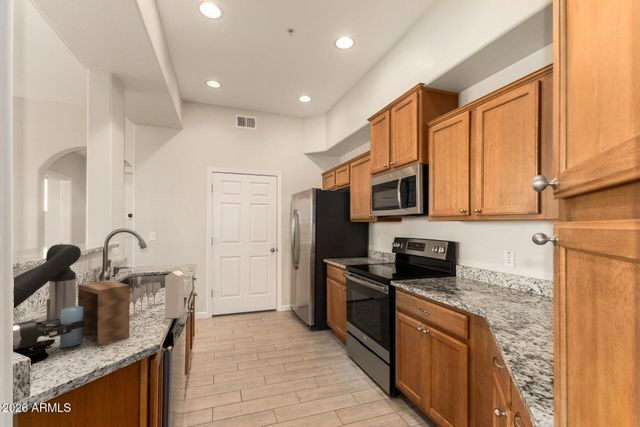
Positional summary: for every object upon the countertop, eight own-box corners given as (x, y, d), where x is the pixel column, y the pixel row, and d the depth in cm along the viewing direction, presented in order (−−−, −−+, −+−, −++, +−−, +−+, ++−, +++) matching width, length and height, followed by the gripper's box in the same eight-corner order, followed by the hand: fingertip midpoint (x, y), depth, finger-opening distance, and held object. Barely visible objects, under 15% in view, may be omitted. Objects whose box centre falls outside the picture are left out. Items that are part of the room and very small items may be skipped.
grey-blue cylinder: (56, 347, 101) (57, 311, 102) (65, 341, 107) (66, 307, 108) (77, 345, 103) (78, 310, 104) (85, 339, 109) (86, 305, 109)
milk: (184, 314, 141) (184, 266, 141) (178, 318, 135) (179, 268, 135) (170, 314, 140) (171, 266, 141) (164, 318, 134) (165, 268, 135)
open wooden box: (98, 346, 105) (98, 290, 105) (77, 336, 115) (78, 284, 115) (129, 337, 113) (129, 284, 113) (107, 328, 123) (107, 280, 123)
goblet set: (129, 321, 131) (129, 291, 131) (116, 321, 131) (116, 291, 131) (162, 303, 159) (162, 278, 159) (151, 304, 159) (151, 278, 159)
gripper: (8, 343, 97) (72, 328, 111) (21, 354, 89) (88, 336, 104) (9, 319, 98) (73, 307, 112) (22, 328, 90) (89, 314, 104)
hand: (80, 321), depth 108 cm, fingers closed on grey-blue cylinder, 6 cm apart
